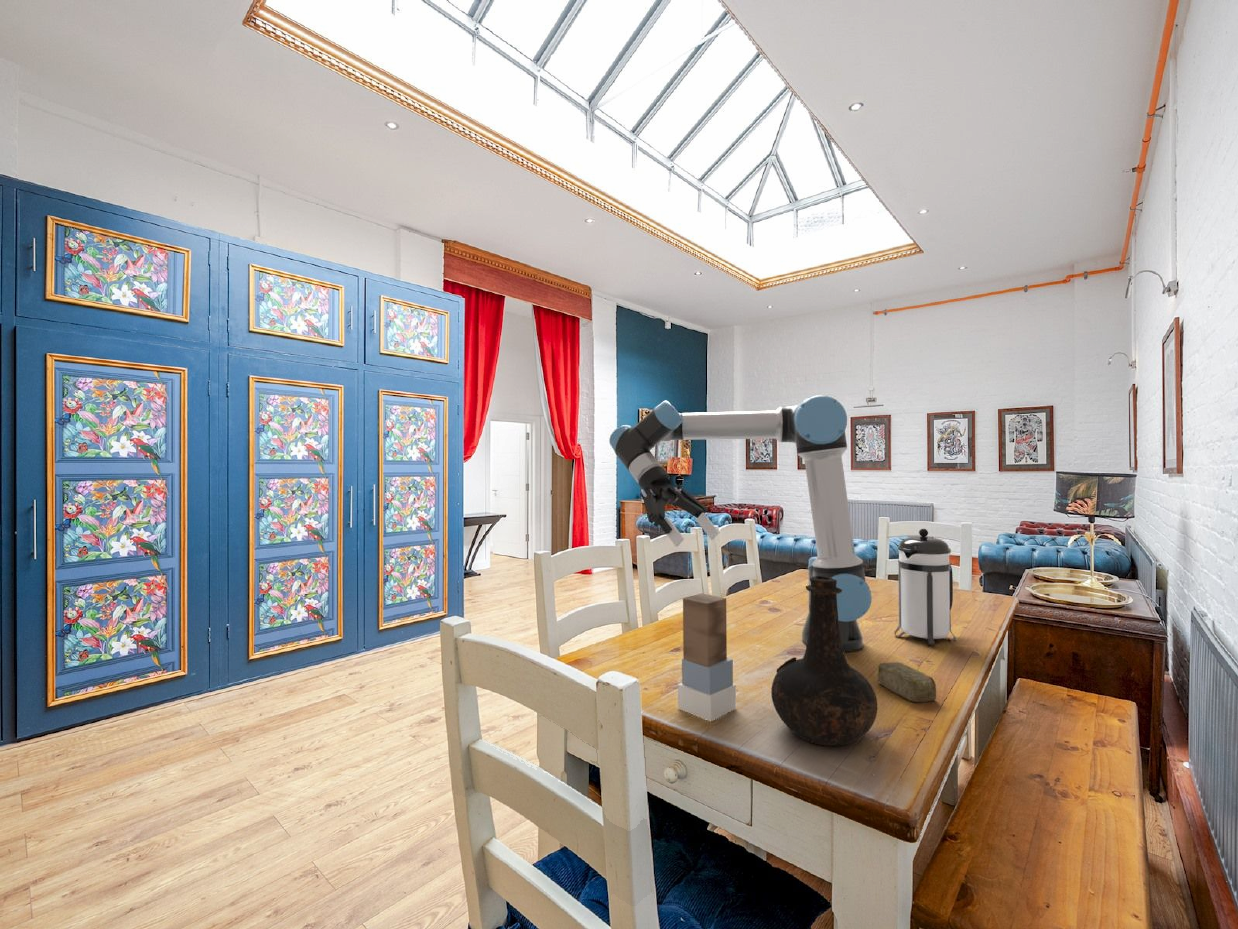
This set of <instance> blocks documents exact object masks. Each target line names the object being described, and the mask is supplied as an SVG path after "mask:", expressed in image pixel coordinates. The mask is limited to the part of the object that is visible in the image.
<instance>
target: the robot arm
mask: <svg viewBox="0 0 1238 929" xmlns="http://www.w3.org/2000/svg"><path fill="white" fill-rule="evenodd" d="M847 425H848V416H847V412H846V409H845V408H844V406H843V404H842V403H840V401H838V399H835V398H834V397H831V396H830V395H821V394H819V395H814V396H809V397H807V398H805V399H804V400H802V401H801V402H800V403H799V404H796V405H791V406H779V407H778V408H777V409H776V410H757V411H755V410H754V411H753V410H752V411H751V410H750V411H748V410H747V411H716V412H681V413H680V412H678V410H677V409H676V408H675V406H674V405H672V404H671V402H670V401H668V400H663V401H662V402H661V403H659V404H658V405H656V406H654V408H653V409H652V410H650V412H649V413H648V414H647V415H645V416H644V418H642V419H641V420H640V421H639V422H638V423H636V424H635V425H634V426H631V425H628V424H625V425H624V424H623V425H621V426H620V427H617V428H616V429H614V430H613V431H612V432H611V434H610V435H609V436H610V437H609V445H610V446H611V448H612V449H613V451H614V453H615V455H616V456H617V458H618V459H619V460H620V461H621V463H622V464H623V465H624V467H625V468H626V469H627V471H628V472H629V473H630V474H631V476H632V477H633V479H634V481H635V482H636V483H638V486H639V487H640V489H642V491H641V492H640V494H639V495H640V497H641V500H643V503H644V507H645V512H646V516H647V520H648V522H649V523H650V524H653V526H654V527H659V528H661V530H662V531H663V532H664V534H666V535H667V537H668V538H669V540H670V541H671V542H672V544H673V545H674V546H675V548H676V547H677V548H678V547H679V546H680V545H681V543H682V542H683V541H684V540H685V537H684V536H683V535H682V534H681V532H680V531H679V529H678V528H677V527H676V525H674V523H673V521H672V520H671V519H670V517H666V505H670V506H671V505H672V506H674V507H678V508H680V509H682V510H683V511H685V512H686V513H688V514H690V515H692V516H693V517H694V518H696V519H695V520H696V522H697V523H698V525H699V526H700V528H702V530H703V531H704V532H705V534H706V535H707V536H708V537H709V539H710V540H711V541H714V539H715V538H717V537H718V535H719V534H720V532H719V530H718V529H717V527H716V526H715V524H714V523H713V522H712V521H711V520H710V518H709V517H708V515H707V514H706V513H707V512H708V510H709V508H708V507H707V506H705V504H703V503H702V502H700V501H699V500H698V499H697V498H696V497H694V496H693V495H692V494H691V493H689V492H688V491H687V490H686V489H685V488H684V487H683V486H682V484H677V485H676V487H674V486H673V485H672V484H671V478H670V475H669V474H668V473H667V470H665V469H664V467H663V466H662V464H661V462H659V461H658V459H657V458H656V457H655V456H654V454H653V453H652V452H651V450H652V449H654V448H655V447H656V446H657V445H658V444H659V443H661V442H662V441H664V442H668V441H669V442H670V441H683V440H684V441H687V440H691V441H692V440H694V441H695V440H698V441H699V440H761V439H762V440H765V439H767V440H770V439H771V440H772V439H775V440H776V441H778V442H779V443H794V444H795V447H796V453H797V456H799V457H800V458H801V459H803V461H804V465H805V466H804V467H805V471H806V472H805V473H806V480H807V481H806V482H807V488H808V494H809V496H808V497H809V501H810V502H809V504H810V509H811V510H810V511H811V516H812V517H811V518H812V524H813V531H814V532H813V533H814V539H815V547H816V554H817V556H812V557H810V558H809V559H808V566H807V570H808V585H811V582H810V577H814V576H825V577H830V578H833V579H835V580H837V584H836V587H837V588H840V589H842V592H841V593H839V594H837V608H838V621H839V629H840V637H841V642H842V648H843V652H844V653H845V652H853V651H859V650H860V649H863V646H864V644H863V643H864V642H863V640H864V639H863V635H862V632H861V629H860V627H859V623H858V621H857V620H859V619H861V618H862V617H864V615H866V614H867V612H868V611H869V610H870V607H871V605H872V598H873V597H872V591H871V589H870V586H869V585H868V582H866V576H865V567H864V560H863V559H862V558H861V557H859V556H858V555H857V554H856V552H855V545H854V544H855V543H854V539H853V538H854V537H853V531H852V522H851V515H850V509H849V502H848V493H847V486H846V480H845V479H846V478H845V472H844V471H845V470H844V464H843V458H842V457H843V454H844V453H845V452H846V450H848V444H847V436H846V428H847ZM810 604H811V592H810V591H808V613H807V616H806V618H805V619H806V620H805V622H804V625H803V628H802V633H801V635H802V636H801V637H802V638H801V639H802V642H803V643H804V644H805V645H807V640H808V632H809V621H810Z"/></svg>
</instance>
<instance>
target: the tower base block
mask: <svg viewBox="0 0 1238 929" xmlns="http://www.w3.org/2000/svg"><path fill="white" fill-rule="evenodd" d="M736 686H737V685H736V684H734V683H733V685H732V686H730V687H727V688H725V689H723V690H720V691H718V692H716V693H713V694H711V695H709V694H706V693H703V692H701V691H698V690H696V689H693V688H691V687H688V686H685V685H683V684H682V682H680V683H678V684H677V709H678V708H680V709H682V710H683V711H682V712H684V711H685V712H684V713H686V712H689V713H691V714H693V715H692V716H694V715H698V716H699V717H702V718H703V719H702V720H704V719H707V720H709V721H710V722H709V721H708V722H709V723H712V722H711V721H713V720H714V719H716V720H718V719H720V718H722V717H723V716H722V715H724V716H726V715H727V713H728V712H730V713H732V712H733V710H734V711H736V710H737V702H736V700H737V696H736V694H737V692H736V688H737V687H736ZM731 711H732V712H731ZM689 713H688V714H689ZM691 714H690V715H691ZM725 714H726V715H725ZM728 714H729V713H728ZM721 716H722V717H721ZM699 717H698V718H699ZM719 717H720V718H719ZM717 718H718V719H717ZM713 722H714V721H713Z"/></svg>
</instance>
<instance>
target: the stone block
mask: <svg viewBox="0 0 1238 929" xmlns="http://www.w3.org/2000/svg"><path fill="white" fill-rule="evenodd" d="M877 682H878V683H879V684H880V685H881V686H882V687H885V689H888V690H889V691H891V692H893V693H895V694H897V695H898V696H900V697H902V698H904V699H906V700H907V701H910V702H913V703H930V702H934V701H935V700H936V698H937V687H936V686H937V684H936V682H935V680H934V679H933V677H931V676H930V675H927V674H926V673H924V672H921V671H919V670H917V669H916V668H914V667H910V666H909V665H907V664H904V663H903V662H898V661H895V662H883V663H879V664H878V671H877Z"/></svg>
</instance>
